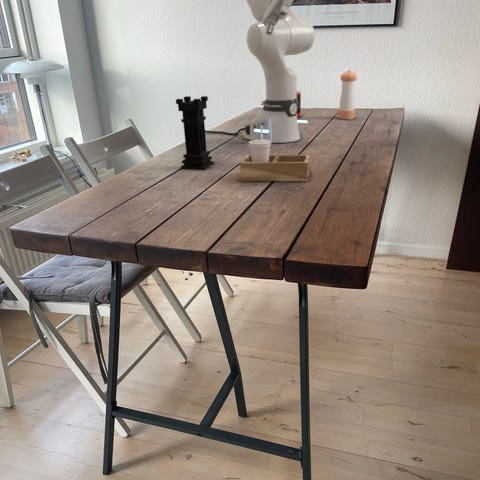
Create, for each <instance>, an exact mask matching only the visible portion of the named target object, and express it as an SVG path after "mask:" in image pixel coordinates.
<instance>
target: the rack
mask: <svg viewBox="0 0 480 480" xmlns="http://www.w3.org/2000/svg"><path fill="white" fill-rule="evenodd" d="M310 164H311V155H310V154H269V162H252V158H251V154H246V155H244V157H243V159H242V160H241V161H240V163H239V167H240V182H308V180H309V176H310V166H311V165H310Z"/></svg>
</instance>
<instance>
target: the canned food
mask: <svg viewBox="0 0 480 480" xmlns="http://www.w3.org/2000/svg"><path fill="white" fill-rule="evenodd" d="M301 97H302V93H301V91H300V90H297V99H298V109H297V119H300V118H301V101H302V100H301V99H302V98H301Z"/></svg>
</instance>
